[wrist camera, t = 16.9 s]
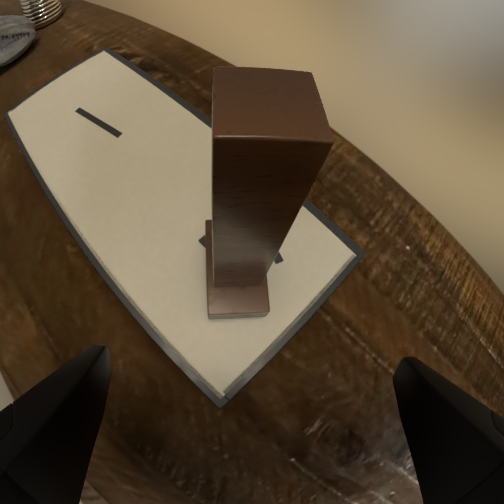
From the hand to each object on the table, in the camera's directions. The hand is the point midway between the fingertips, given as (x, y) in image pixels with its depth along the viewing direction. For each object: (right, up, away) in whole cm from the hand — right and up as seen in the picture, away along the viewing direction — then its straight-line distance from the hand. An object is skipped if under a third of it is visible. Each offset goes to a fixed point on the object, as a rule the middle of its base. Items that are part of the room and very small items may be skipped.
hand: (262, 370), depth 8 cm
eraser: (-1, +2, +12) cm, 12 cm away
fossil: (-37, +33, +20) cm, 54 cm away
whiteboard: (-10, +11, +15) cm, 21 cm away
